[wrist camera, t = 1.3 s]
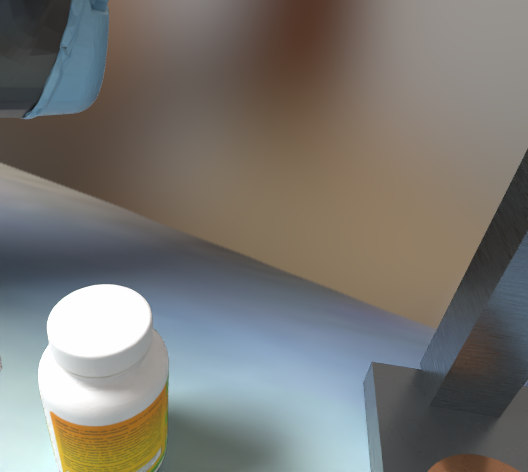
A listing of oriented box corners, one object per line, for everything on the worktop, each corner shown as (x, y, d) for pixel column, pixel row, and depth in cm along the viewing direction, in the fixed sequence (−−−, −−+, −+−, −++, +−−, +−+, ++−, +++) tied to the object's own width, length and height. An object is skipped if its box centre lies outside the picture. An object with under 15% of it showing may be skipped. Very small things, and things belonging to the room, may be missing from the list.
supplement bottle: (187, 460, 25) (196, 332, 19) (85, 528, 22) (59, 399, 16) (136, 386, 28) (131, 256, 22) (40, 436, 25) (5, 301, 19)
